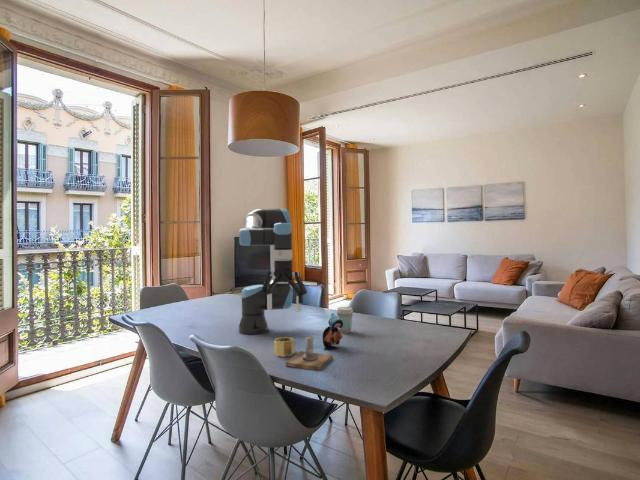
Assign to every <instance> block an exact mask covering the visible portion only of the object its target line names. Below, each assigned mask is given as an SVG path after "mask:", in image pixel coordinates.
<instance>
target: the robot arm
mask: <svg viewBox="0 0 640 480" xmlns="http://www.w3.org/2000/svg"><path fill="white" fill-rule="evenodd" d="M243 226H244V228H240V229H239V231H238V232H239V233H238V239H239V245H240V246H247V247H250V246H252V247H253V246H270V247H269V249H270V250H269V251H270V252H269V253H270V270H269V271H267V277H266V279H265V281H264V283H263V284H256V285H255V284H254V285H250V286H245V287H243V289H242V290H241V297H240V298H241V319H240V321H239V325H238V332H239V334H243V335H258V334H262V333H266V332H267V331H269V325H268V321H267V319H266V316H265V315H266V314H265V311H272V310H274V311H276V310H288V309H290V308H291V307H292V304H293V297H294V292H295V293H296V294H297V296H296V313H299V312H301V311H302V304H303V303H304V302H303V301H304V299H303V298H304V296H305V295H307V293H308V291H307V288H306V287H305V284H304V283H303V281H302V277H301V275H300V271H299V270H297V271H294V272H293V261H292V259H293V227H292V220H291V216H290V212H289V210H288V209H287V208H257V209H254V210H251V211H250V212H248V213H246V215H245V216H244V219H243ZM293 277H294V279H295V280H294V279H293Z"/></svg>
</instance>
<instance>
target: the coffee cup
mask: <svg viewBox="0 0 640 480" xmlns="http://www.w3.org/2000/svg"><path fill="white" fill-rule="evenodd" d="M353 313H354V310H353V308H352V307H350V306H341V307H337V309H336V314H337V315H336V316H337V317H338V318H340V319H342V320H343V327H342V328H338V329H339V330H340V332H341V334H349V333H351V332H352V325H353V323H352V322H353V315H354V314H353Z"/></svg>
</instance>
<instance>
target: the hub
mask: <svg viewBox="0 0 640 480" xmlns="http://www.w3.org/2000/svg"><path fill="white" fill-rule="evenodd" d="M295 340H296V339H295V338H294V337H291V336H281V337H277V338H274V340H273V353H274V355H275V356H276V357H278V356H281V357H280V358H287V357H286V356H289V357H293V356H294V355H296V354H295V353H296V352H295V351H296V347H295V346H296V343H295V342H296V341H295ZM293 354H294V355H293Z"/></svg>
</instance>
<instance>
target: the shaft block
mask: <svg viewBox="0 0 640 480" xmlns="http://www.w3.org/2000/svg"><path fill="white" fill-rule="evenodd" d="M332 359H333V354H330V353H329V354H328V353H319V352H314V337H312V336H311V337H310V336H308V337H305V351H299V352H298V353H296V354H294V355H293V356H291V358H290V359H288V360H287V361H286V362H285V367H287V366H291V367H290V368H295V367H297V369H302V368H303V369H304V370H310V369H312V371H318V370H319V371H318V372H320V371H322V369H324V368H325V367H326V366H327V364H328V363H330V361H332Z"/></svg>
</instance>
